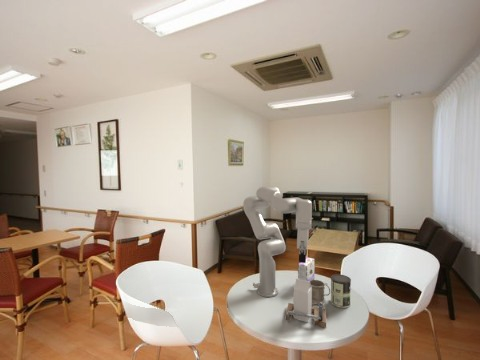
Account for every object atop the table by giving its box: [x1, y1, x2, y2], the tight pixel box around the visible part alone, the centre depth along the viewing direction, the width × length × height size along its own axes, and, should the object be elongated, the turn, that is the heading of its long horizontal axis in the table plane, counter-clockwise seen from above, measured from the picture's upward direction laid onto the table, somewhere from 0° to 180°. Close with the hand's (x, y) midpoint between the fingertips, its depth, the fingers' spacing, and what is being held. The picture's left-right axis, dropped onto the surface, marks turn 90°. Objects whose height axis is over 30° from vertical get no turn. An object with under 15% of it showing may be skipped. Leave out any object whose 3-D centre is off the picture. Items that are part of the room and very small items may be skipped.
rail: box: [287, 311, 321, 322], centre depth 123 cm, size 16×1×4 cm, turn 73°
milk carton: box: [293, 278, 313, 323], centre depth 128 cm, size 7×7×19 cm
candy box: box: [297, 256, 316, 281], centre depth 160 cm, size 14×6×16 cm, turn 144°
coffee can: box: [330, 273, 352, 309], centre depth 141 cm, size 10×10×14 cm
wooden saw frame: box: [285, 302, 327, 329], centre depth 128 cm, size 19×12×2 cm, turn 73°
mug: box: [309, 279, 331, 305], centre depth 142 cm, size 14×10×12 cm
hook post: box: [318, 302, 324, 321], centre depth 121 cm, size 2×4×8 cm, turn 163°
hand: (302, 258), depth 127 cm, fingers open, 9 cm apart
